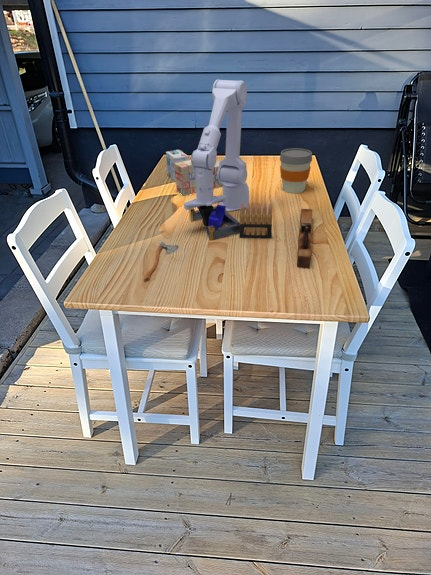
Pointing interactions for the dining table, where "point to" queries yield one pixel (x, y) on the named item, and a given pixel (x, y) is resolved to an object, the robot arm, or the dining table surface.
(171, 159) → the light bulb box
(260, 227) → the ammunition clip
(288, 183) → the reusable coffee cup
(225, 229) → the keeper cradle
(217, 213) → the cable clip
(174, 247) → the axe
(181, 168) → the stack of blocks
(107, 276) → the dining table surface
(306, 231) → the hand plane
